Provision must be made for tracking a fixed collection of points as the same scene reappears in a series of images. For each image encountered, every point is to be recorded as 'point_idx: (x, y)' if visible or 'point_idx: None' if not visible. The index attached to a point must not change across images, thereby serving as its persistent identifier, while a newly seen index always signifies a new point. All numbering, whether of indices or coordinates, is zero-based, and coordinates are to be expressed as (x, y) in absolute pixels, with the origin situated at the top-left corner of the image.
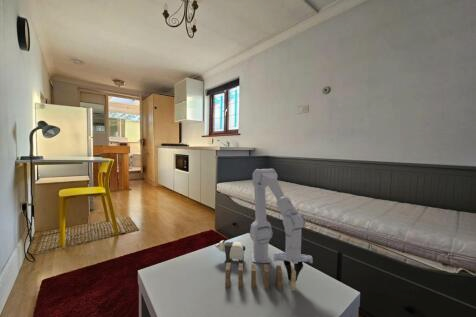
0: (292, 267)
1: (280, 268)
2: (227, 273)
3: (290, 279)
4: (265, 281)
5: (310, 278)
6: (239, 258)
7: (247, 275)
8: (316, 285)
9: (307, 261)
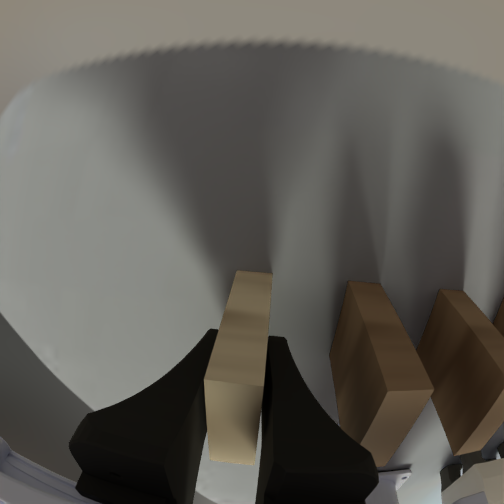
0: (222, 448)
1: (373, 438)
2: None
3: (270, 341)
4: (485, 321)
5: (105, 365)
6: (486, 467)
7: None
8: (78, 308)
9: (25, 462)
